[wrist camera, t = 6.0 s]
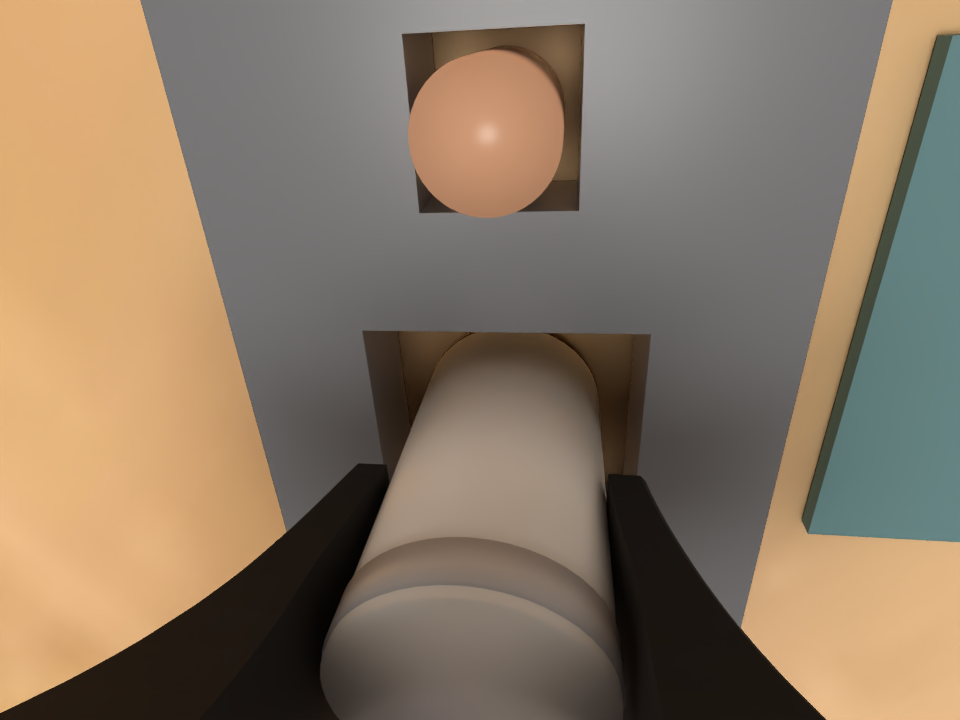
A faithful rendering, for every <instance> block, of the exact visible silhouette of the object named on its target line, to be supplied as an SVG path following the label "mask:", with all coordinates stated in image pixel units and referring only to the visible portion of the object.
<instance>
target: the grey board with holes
mask: <svg viewBox="0 0 960 720" xmlns="http://www.w3.org/2000/svg"><path fill="white" fill-rule="evenodd" d="M892 1H893V0H141V4H142V8H143V11H144V15H145V19H146V22H147V26H148V29H149V33H150V37H151V40H152V44H153V48H154V51H155V55H156V59H157V62H158V66H159V69H160V73H161V77H162V80H163V84H164V88H165V91H166V95H167V98H168V102H169V106H170V109H171V113H172V117H173V120H174V124H175V128H176V131H177V135H178V138H179V142H180V146H181V149H182V153H183V157H184V160H185V164H186V167H187V171H188V175H189V178H190V182H191V186H192V189H193V193H194V197H195V200H196V204H197V207H198V211H199V215H200V218H201V222H202V226H203V229H204V233H205V236H206V240H207V244H208V247H209V251H210V255H211V258H212V262H213V265H214V269H215V273H216V276H217V280H218V284H219V287H220V291H221V295H222V298H223V302H224V305H225V309H226V313H227V316H228V320H229V324H230V327H231V331H232V334H233V338H234V342H235V345H236V349H237V353H238V356H239V360H240V364H241V367H242V371H243V374H244V378H245V382H246V385H247V389H248V393H249V396H250V400H251V403H252V407H253V411H254V414H255V418H256V422H257V425H258V429H259V433H260V436H261V440H262V443H263V447H264V451H265V454H266V458H267V462H268V465H269V469H270V472H271V476H272V480H273V483H274V487H275V491H276V494H277V498H278V502H279V505H280V509H281V512H282V516H283V520H284V523H285V527H286V531H288V530H290V529H291V528H292V527H293V526H294V525H295V524H296V523H297V522H298V521H299V520H300V519H301V518H302V517H303V516H304V515H305V514H307V513H308V512H309V511H310V510H311V509H312V508H313V507H314V506H315V505H316V504H317V503H318V502H319V501H320V500H321V499H322V498H323V497H324V496H325V495H326V494H327V493H328V492H329V491H330V490H331V489H332V488H333V487H334V486H335V485H336V484H337V483H338V482H339V481H340V480H341V479H342V478H343V477H344V476H345V475H346V474H347V473H348V472H350V471H351V470H352V469H353V468H354V467H355V466H356V465H357V464H358V463H364V464H387V470H388V476H389V483H390V482H391V479H392V476H393V474H394V471H395V469H396V466H397V464H398V461H399V459H400V456H401V454H402V451H403V448H404V446H405V443H406V441H407V438H408V436H409V433H410V424H409V416H408V408H407V400H406V392H405V384H404V377H403V369H402V361H401V353H400V345H399V337H398V331H435V332H510V333H584V334H635V336H634V348H633V360H632V372H631V384H630V396H629V408H628V420H627V431H626V443H625V455H624V467H623V475H635V476H641V477H642V478H643V479H644V480H645V481H646V483H647V485H648V487H649V490H650V492H651V494H652V496H653V498H654V500H655V502H656V504H657V506H658V508H659V509H660V511H661V513H662V515H663V517H664V518H665V520H666V522H667V524H668V525H669V527H670V529H671V531H672V532H673V534H674V536H675V537H676V539H677V540H678V542H679V543H680V545H681V547H682V548H683V550H684V551H685V553H686V554H687V556H688V557H689V559H690V561H691V562H692V564H693V565H694V567H695V568H696V570H697V571H698V572H699V574H700V575H701V577H702V578H703V580H704V581H705V582H706V584H707V585H708V587H709V588H710V589H711V591H712V592H713V593H714V595H715V596H716V597H717V599H718V600H719V602H720V603H721V604H722V605H723V607H724V608H725V609H726V611H727V612H728V613H729V615H730V616H731V617H732V618H733V620H734V621H735V622H736V623H737V625H738V626H739V627H740V628H741V624H742V620H743V616H744V611H745V607H746V603H747V599H748V595H749V591H750V587H751V583H752V578H753V574H754V570H755V566H756V562H757V558H758V554H759V550H760V545H761V541H762V537H763V533H764V529H765V525H766V521H767V517H768V512H769V508H770V504H771V500H772V496H773V492H774V488H775V484H776V479H777V475H778V471H779V467H780V463H781V459H782V455H783V451H784V446H785V442H786V438H787V434H788V430H789V426H790V422H791V418H792V413H793V409H794V405H795V401H796V397H797V393H798V389H799V385H800V380H801V376H802V372H803V368H804V364H805V360H806V356H807V352H808V347H809V343H810V339H811V335H812V331H813V327H814V323H815V319H816V314H817V310H818V306H819V302H820V298H821V294H822V290H823V286H824V281H825V277H826V273H827V269H828V265H829V261H830V257H831V253H832V248H833V244H834V240H835V236H836V232H837V228H838V224H839V220H840V215H841V211H842V207H843V203H844V199H845V195H846V191H847V187H848V182H849V178H850V174H851V170H852V166H853V162H854V158H855V153H856V149H857V145H858V141H859V137H860V133H861V129H862V125H863V120H864V116H865V112H866V108H867V104H868V100H869V96H870V92H871V87H872V83H873V79H874V75H875V71H876V67H877V63H878V59H879V54H880V50H881V46H882V42H883V38H884V34H885V30H886V26H887V21H888V17H889V13H890V9H891V5H892ZM577 24H582V41H581V75H580V110H579V144H578V179H577V181H551V182H550V184H549V185H548V187H547V188H546V189H545V190H544V191H543V193H542V194H541V195H540V196H539V197H538V198H537V199H536V200H534V201H533V202H532V203H531V204H529V205H528V206H526V207H525V208H523V209H521V210H519V211H517V212H515V213H512V214H509V215H506V216H501V217H494V218H478V217H473V216H468V215H465V214H462V213H459V212H457V211H455V210H453V209H451V208H449V207H448V206H446V205H444V204H443V203H442V202H440V201H439V200H438V199H437V198H435V197H434V196H433V194H432V193H431V192H430V191H429V190H428V189H427V188H426V186H425V185H424V184H423V182H422V181H421V179H420V177H419V175H418V174H417V172H416V169H415V167H414V164H413V162H412V158H411V155H410V149H409V143H408V127H409V119H410V114H411V110H412V107H413V104H414V101H415V99H416V97H417V95H418V93H419V91H420V90H421V88H422V87H423V85H424V84H425V82H426V81H427V80H428V79H429V78H430V77H431V76H432V74H434V73H435V70H434V57H433V44H432V33H433V32H451V31H469V30H487V29H505V28H523V27H541V26H559V25H577ZM607 487H608V484H605V489H606V501H607Z"/></svg>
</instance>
